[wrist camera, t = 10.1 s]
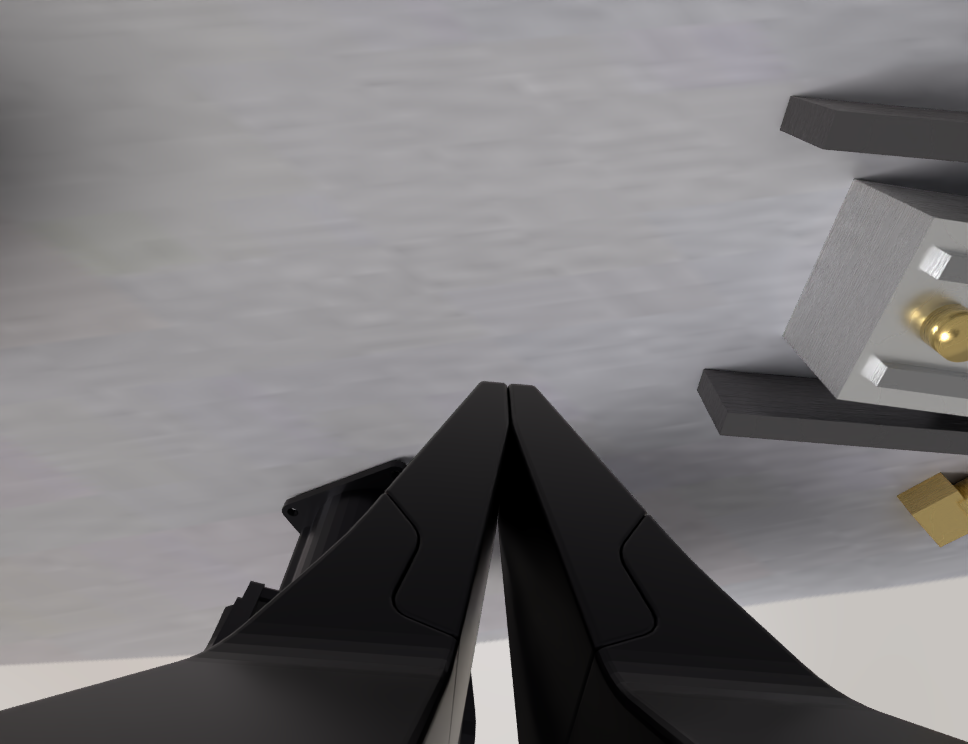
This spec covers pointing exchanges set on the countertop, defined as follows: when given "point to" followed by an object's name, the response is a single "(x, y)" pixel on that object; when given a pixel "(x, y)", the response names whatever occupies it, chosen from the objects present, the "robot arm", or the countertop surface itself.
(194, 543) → the countertop surface
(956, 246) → the block
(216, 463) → the countertop surface
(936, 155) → the bracket
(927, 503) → the gold elongated piece
